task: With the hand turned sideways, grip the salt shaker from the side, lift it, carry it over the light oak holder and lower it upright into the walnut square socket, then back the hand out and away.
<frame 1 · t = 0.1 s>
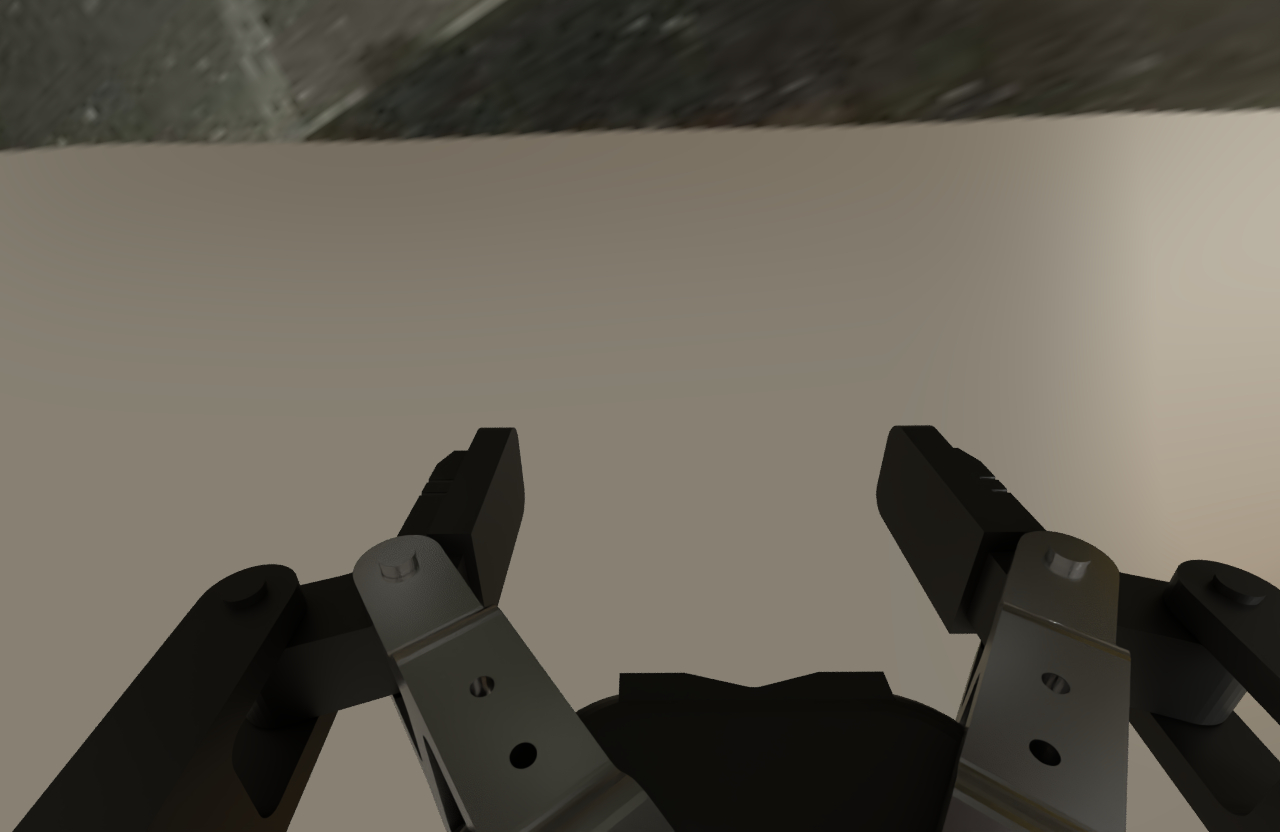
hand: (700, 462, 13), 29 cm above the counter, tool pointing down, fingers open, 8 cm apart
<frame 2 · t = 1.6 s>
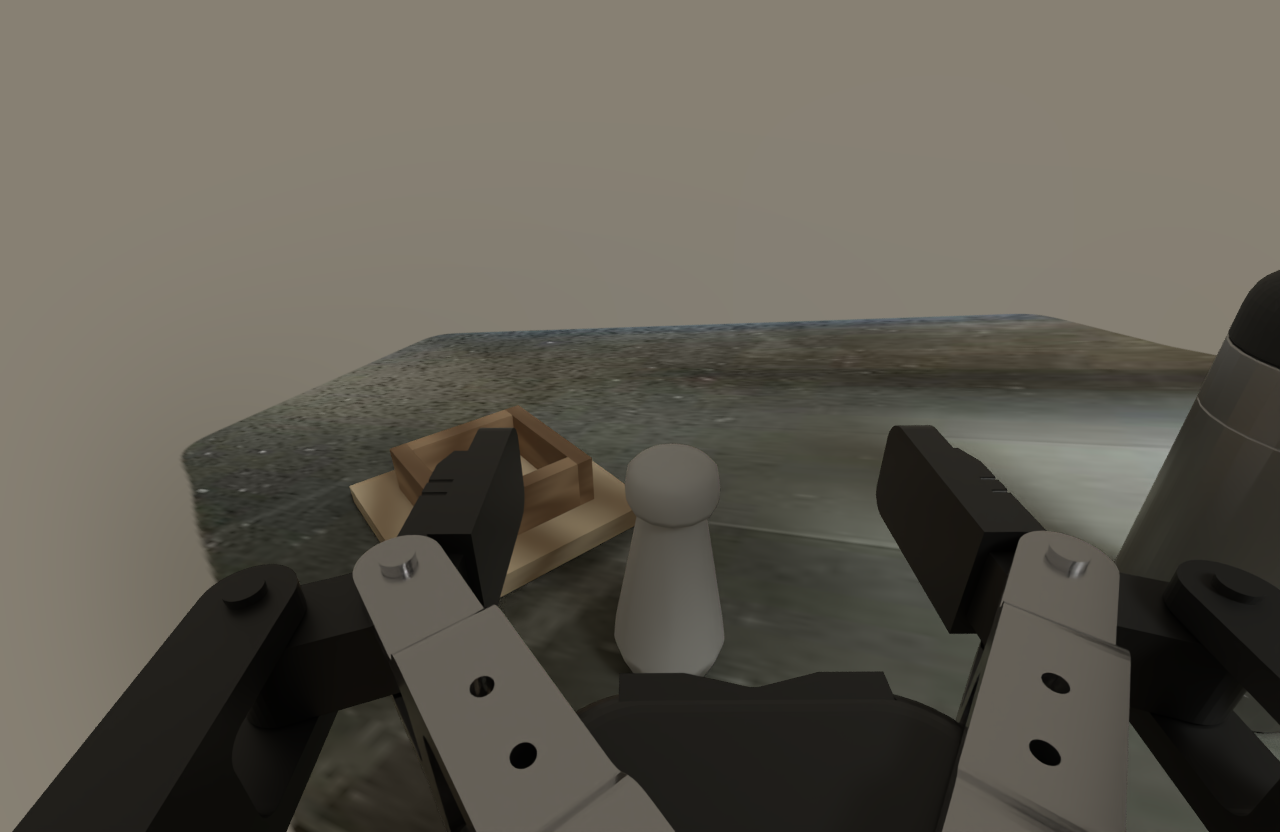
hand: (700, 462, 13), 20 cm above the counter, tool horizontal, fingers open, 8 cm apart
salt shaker: (668, 661, 32), on the counter
socket holder: (498, 510, 44), on the counter
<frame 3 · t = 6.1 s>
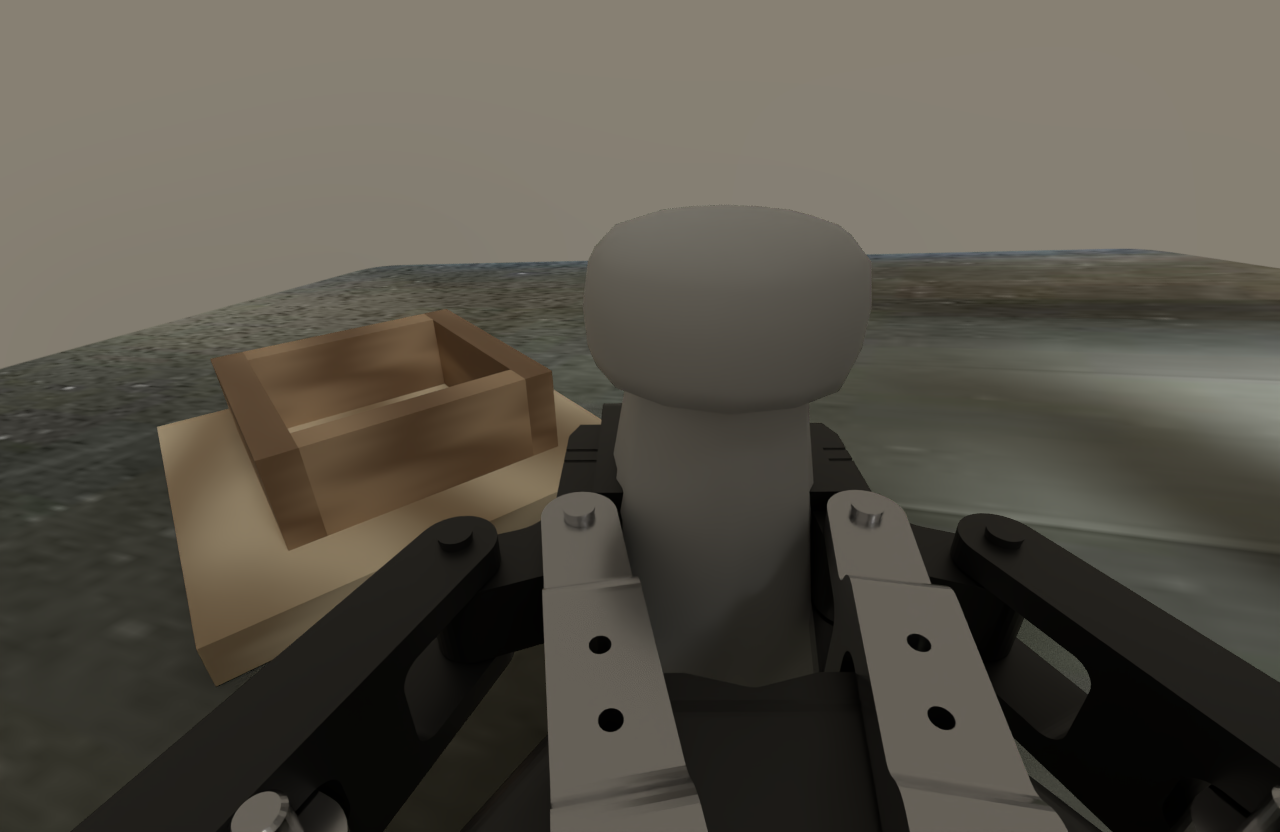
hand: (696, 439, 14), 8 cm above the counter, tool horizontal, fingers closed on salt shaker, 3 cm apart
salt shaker: (693, 762, 15), on the counter, touching gripper
socket holder: (400, 467, 26), on the counter
when the fingers open (10 cm above the counter, at t = 11.4 s): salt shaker stays where it is, resting on socket holder.
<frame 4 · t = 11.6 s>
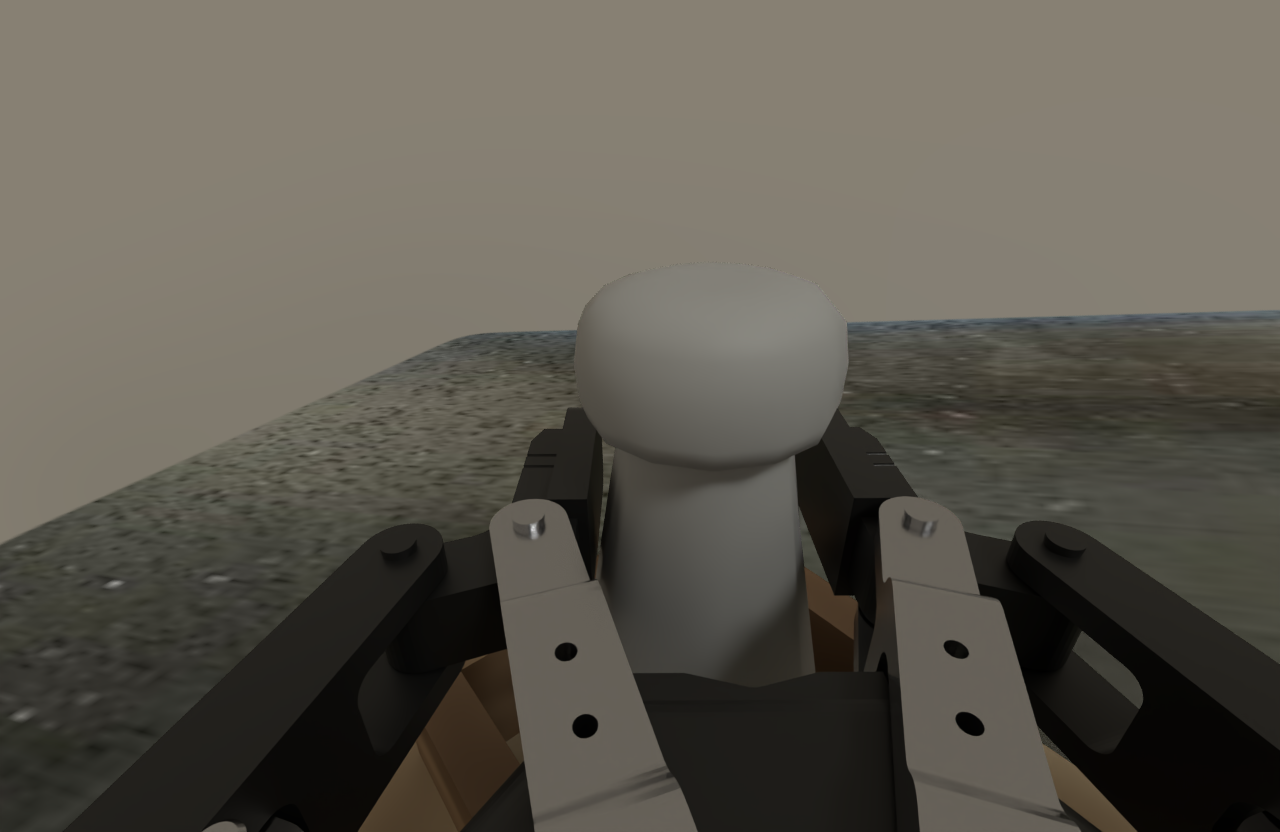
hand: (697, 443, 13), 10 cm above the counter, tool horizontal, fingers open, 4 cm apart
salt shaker: (693, 789, 15), point 1 cm above the counter, touching socket holder
socket holder: (691, 813, 16), on the counter
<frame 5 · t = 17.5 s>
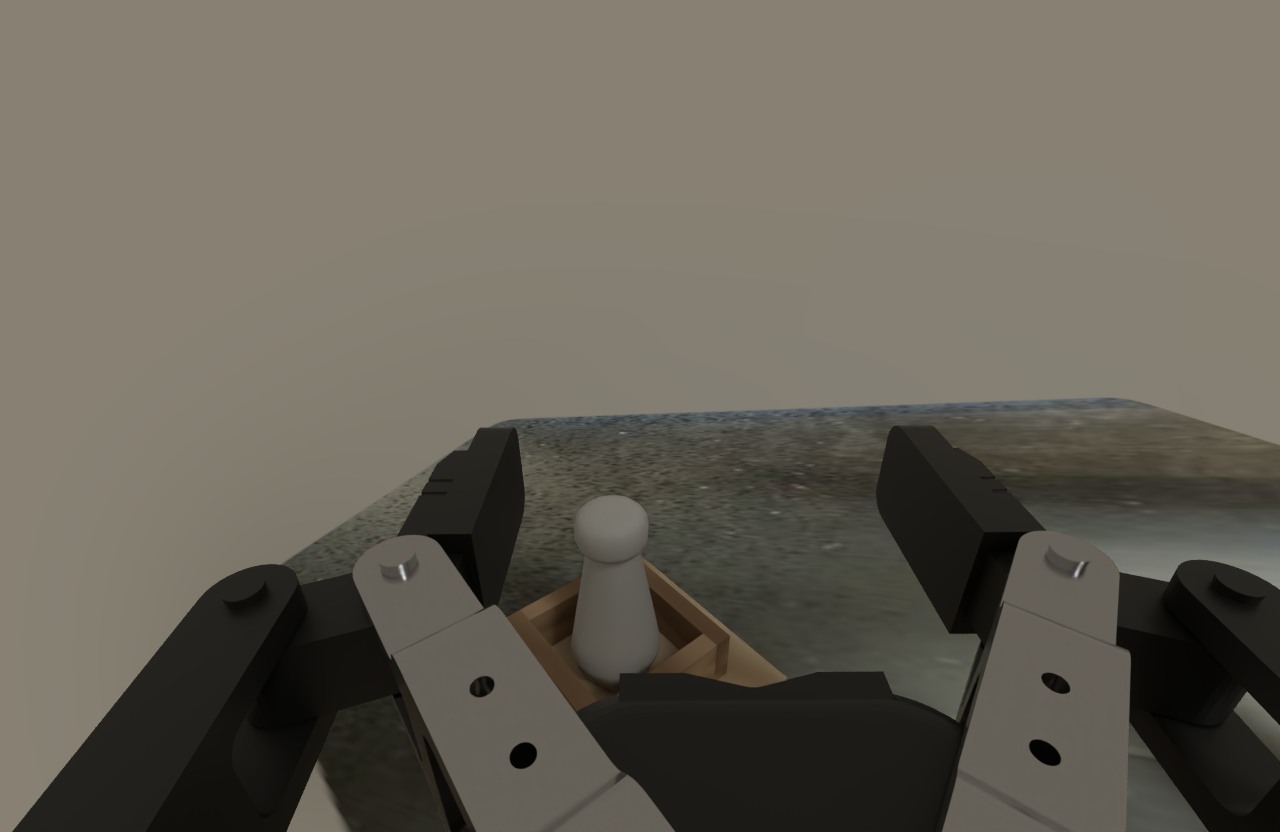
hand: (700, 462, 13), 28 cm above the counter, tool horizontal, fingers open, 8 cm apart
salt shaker: (616, 667, 40), point 1 cm above the counter, touching socket holder
socket holder: (617, 678, 40), on the counter
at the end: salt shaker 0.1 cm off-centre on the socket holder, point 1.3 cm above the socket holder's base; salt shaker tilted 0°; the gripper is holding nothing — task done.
